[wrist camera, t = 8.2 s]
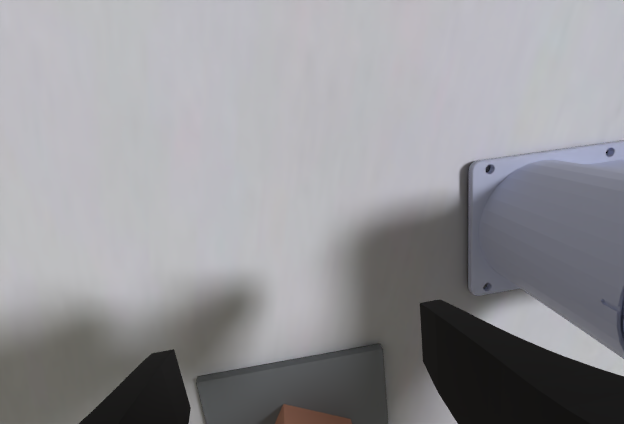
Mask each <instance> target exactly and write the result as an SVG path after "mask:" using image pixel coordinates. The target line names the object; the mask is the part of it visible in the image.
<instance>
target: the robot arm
mask: <svg viewBox="0 0 624 424" xmlns="http://www.w3.org/2000/svg"><path fill="white" fill-rule="evenodd" d="M607 150H608V153H607V154H606V151H607ZM488 165H490V170H489V171H488V172H487V173H486V171H485V169H486V167H487V166H488ZM486 283H488V284H487V286H486V287H485V288H483V287H484V285H485V284H486ZM520 288H521V289H522V290H524V291H525V292H527V293H528V294H530V295H531V296H533V297H534V298H535V299H537V300H538V301H540V302H541V303H543V304H544V305H546V306H547V307H549V308H550V309H552V310H553V311H555V312H556V313H557V314H559V315H560V316H562V317H563V318H565V319H566V320H568V321H569V322H571V323H572V324H574V325H575V326H576V327H578V328H579V329H581V330H582V331H584V332H585V333H587V334H588V335H590V336H591V337H593V338H594V339H596V340H597V341H598V342H600V343H601V344H603V345H604V346H606V347H607V348H609V349H610V350H612V351H613V352H615V353H616V354H617V355H619V356H620V357H622V358H623V359H624V140H621V141H614V142H607V143H599V144H592V145H585V146H578V147H571V148H563V149H556V150H549V151H542V152H535V153H527V154H520V155H513V156H506V157H499V158H491V159H484V160H477V161H474V162H473V163H472V164H471V165H470V167H469V215H468V289H469V291H470V292H471V293H472V294H473V295H476V296H480V295H486V294H491V293H497V292H503V291H509V290H515V289H520ZM420 314H421V332H422V350H423V362H424V364H425V366H426V368H427V370H428V373H429V375H430V377H431V379H432V381H433V383H434V385H435V387H436V389H437V391H438V393H439V395H440V396H441V398H442V399H443V401H444V402H445V404H446V406H447V407H448V409H449V410H450V412H451V413H452V415H453V417H454V418H455V420H456V421H457V423H458V424H624V376H620V375H617V374H614V373H611V372H607V371H604V370H601V369H598V368H595V367H592V366H589V365H587V364H584V363H581V362H578V361H576V360H573V359H570V358H567V357H564V356H562V355H559V354H557V353H554V352H551V351H549V350H546V349H544V348H542V347H539V346H537V345H535V344H532V343H530V342H528V341H525V340H523V339H521V338H519V337H516V336H514V335H512V334H510V333H508V332H506V331H503V330H501V329H499V328H497V327H495V326H493V325H491V324H489V323H487V322H485V321H483V320H481V319H479V318H477V317H475V316H473V315H471V314H469V313H467V312H465V311H463V310H461V309H459V308H457V307H455V306H453V305H451V304H449V303H446V302H444V301H442V300H435V301H429V302H424V303H420ZM190 409H191V408H190V404H189V401H188V397H187V394H186V390H185V387H184V383H183V380H182V376H181V373H180V369H179V366H178V362H177V359H176V355H175V351H174V350H169V351H163V352H158V353H153V354H151V355H150V356H149V357H147V358H146V359H145V360H144V361H143V362H142V363H141V364H140V365H139V366H138V367H137V368H136V369H135V370H134V371H133V372H132V373H131V374H130V375H129V376H128V377H127V378H126V379H125V380H124V381H123V382H122V383H121V384H120V385H119V386H118V387H117V388H116V389H115V390H114V391H113V392H112V393H111V394H110V395H108V396H107V397H106V398H105V399H104V400H103V401H102V402H101V403H100V404H99V405H98V406H97V407H96V408H95V409H94V410H93V411H92V412H91V413H90V414H89V415H88V416H87V417H86V418H84V419H83V420H82V421H81V422H80V423H79V424H188V423H189V416H190Z"/></svg>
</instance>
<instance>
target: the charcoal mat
mask: <svg viewBox="0 0 624 424" xmlns="http://www.w3.org/2000/svg"><path fill="white" fill-rule="evenodd" d="M196 384H197V388H198V392H199V396H200V400H201V404H202V408H203V412H204V416H205V420H206V424H275V422H276V420H277V417H278V415H279V413H280V410H281V408H282V406H283V404H286V405H291V406H295V407H299V408H304V409H308V410H313V411H317V412H322V413H326V414H330V415H335V416H339V417H344V418H348V419H351V422H352V424H388V414H387V400H386V386H385V373H384V359H383V348H382V346H381V344H376V345H371V346H365V347H360V348H354V349H349V350H343V351H337V352H332V353H326V354H321V355H315V356H310V357H304V358H299V359H293V360H288V361H282V362H276V363H271V364H265V365H260V366H254V367H249V368H243V369H238V370H232V371H226V372H221V373H215V374H210V375H204V376H199V377H198V378H197V382H196Z"/></svg>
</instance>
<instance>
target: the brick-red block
mask: <svg viewBox="0 0 624 424" xmlns="http://www.w3.org/2000/svg"><path fill="white" fill-rule="evenodd" d="M275 424H352V422H351V419H348V418H344V417H339V416H335V415H330V414H326V413H322V412H317V411H313V410H308V409H304V408H299V407H295V406H291V405H286V404H283V406H282V408H281V410H280V413H279V415H278V417H277V420H276V422H275Z"/></svg>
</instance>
